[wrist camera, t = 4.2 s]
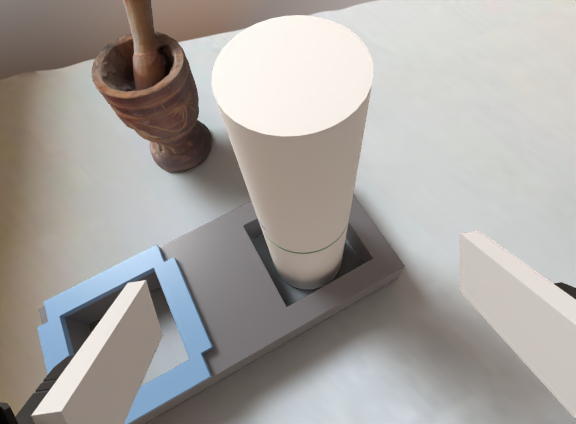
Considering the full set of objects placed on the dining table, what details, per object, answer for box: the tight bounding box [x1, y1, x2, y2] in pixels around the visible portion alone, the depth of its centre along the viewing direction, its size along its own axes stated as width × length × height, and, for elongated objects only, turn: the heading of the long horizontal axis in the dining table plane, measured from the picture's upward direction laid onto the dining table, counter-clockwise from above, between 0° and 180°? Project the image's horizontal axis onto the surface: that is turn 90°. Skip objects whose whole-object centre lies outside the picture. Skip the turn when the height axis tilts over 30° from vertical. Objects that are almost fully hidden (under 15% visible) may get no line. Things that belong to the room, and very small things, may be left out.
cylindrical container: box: [211, 15, 374, 289], centre depth 28 cm, size 7×7×25 cm
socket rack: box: [37, 194, 405, 424], centre depth 36 cm, size 31×13×5 cm, turn 118°
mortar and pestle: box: [92, 0, 211, 172], centre depth 38 cm, size 12×9×20 cm
